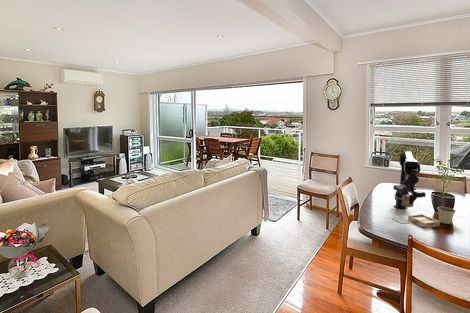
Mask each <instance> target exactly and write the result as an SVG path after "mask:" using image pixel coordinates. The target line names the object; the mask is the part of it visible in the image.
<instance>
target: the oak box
mask: <svg viewBox="0 0 470 313" xmlns="http://www.w3.org/2000/svg"><path fill="white" fill-rule="evenodd" d="M407 220H409V221H411V222H413V223H412V224H416V225H417V226H419V227H422V228H424V229H425V228H426V229H427V228H434V227H440V224H441V222H440V221H439V220H437V219H435V218H432V217H430V216H428V215H426V214H423V213H422V214H414V215H408V218H407Z"/></svg>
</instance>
